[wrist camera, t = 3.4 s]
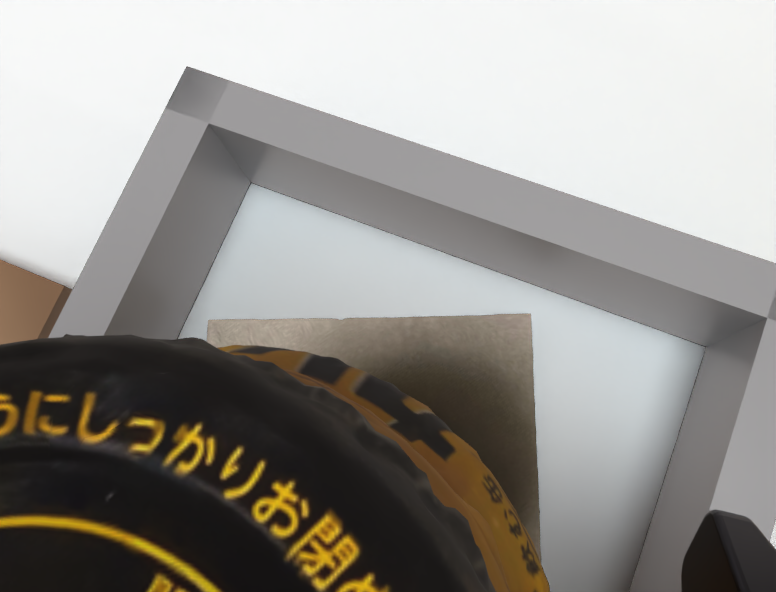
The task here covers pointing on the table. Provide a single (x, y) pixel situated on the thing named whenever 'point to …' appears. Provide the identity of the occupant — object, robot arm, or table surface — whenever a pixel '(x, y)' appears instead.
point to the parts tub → (464, 240)
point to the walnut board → (28, 304)
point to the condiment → (273, 459)
